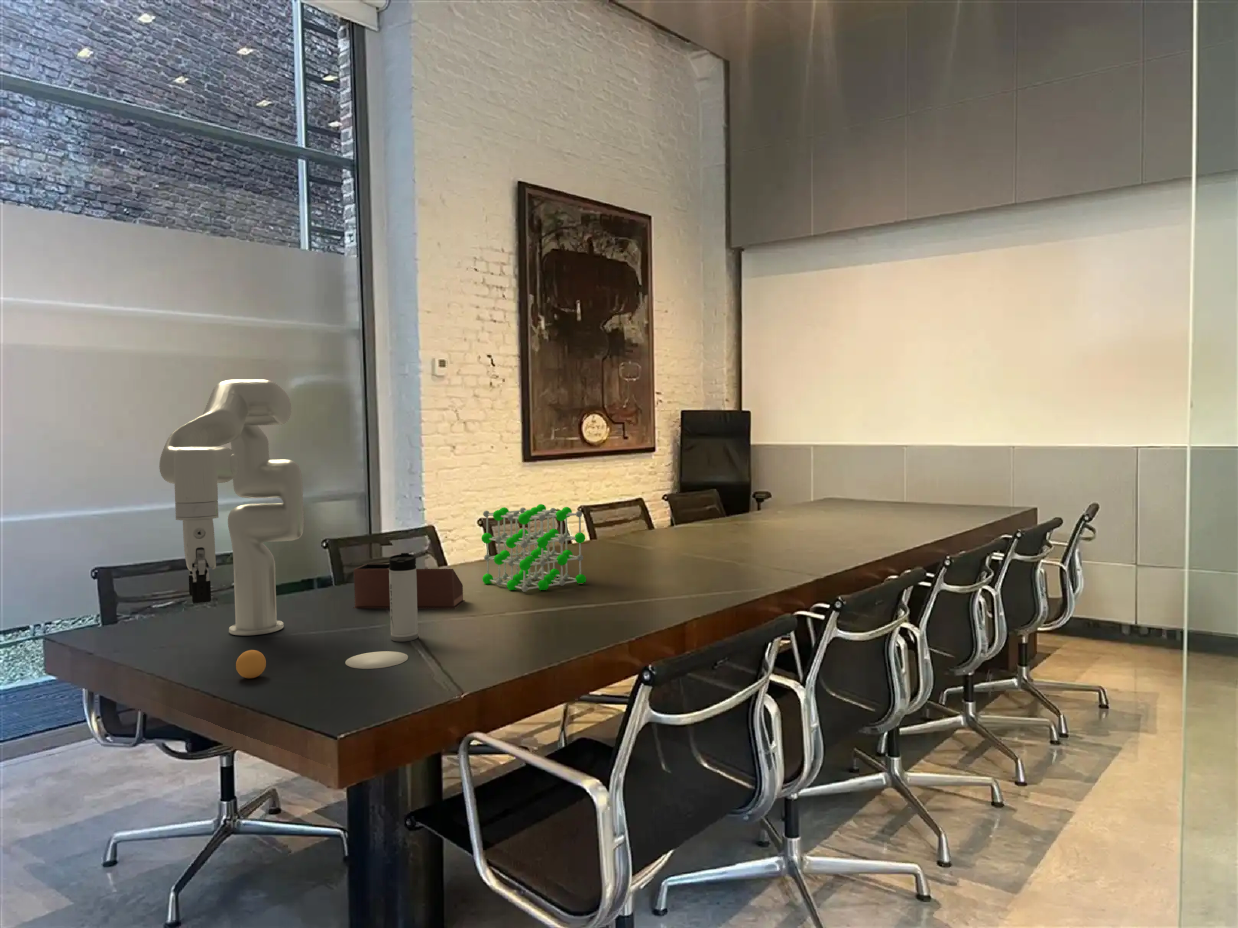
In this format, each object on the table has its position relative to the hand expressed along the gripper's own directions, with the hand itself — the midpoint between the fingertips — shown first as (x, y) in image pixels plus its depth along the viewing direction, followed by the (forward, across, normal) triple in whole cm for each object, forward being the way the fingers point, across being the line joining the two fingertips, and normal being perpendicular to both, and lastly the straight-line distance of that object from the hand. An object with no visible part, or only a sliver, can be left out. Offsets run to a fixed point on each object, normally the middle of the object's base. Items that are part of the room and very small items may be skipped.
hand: (199, 598), depth 168 cm
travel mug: (+17, +15, -44) cm, 50 cm away
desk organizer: (+17, +54, -56) cm, 80 cm away
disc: (+17, 0, -34) cm, 38 cm away
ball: (+14, 0, -9) cm, 17 cm away
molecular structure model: (+16, +62, -99) cm, 118 cm away
